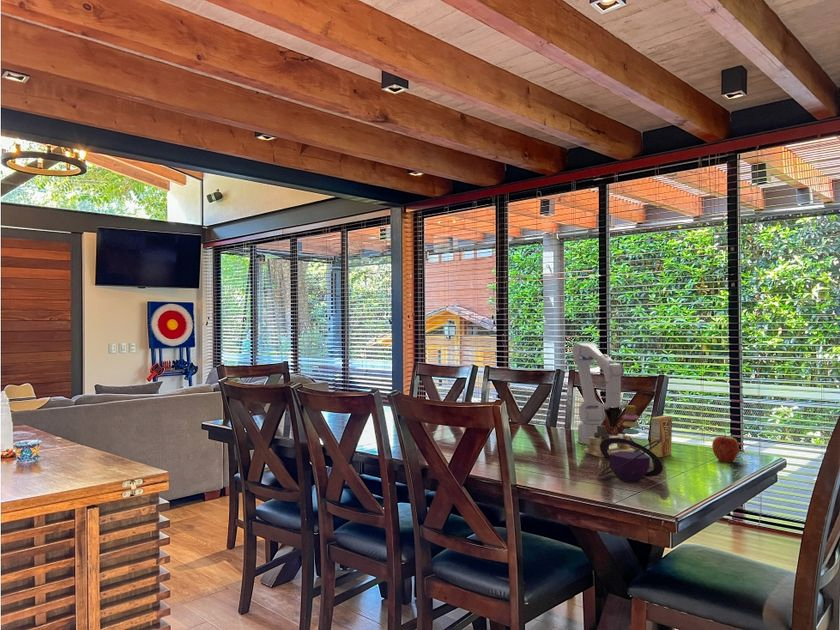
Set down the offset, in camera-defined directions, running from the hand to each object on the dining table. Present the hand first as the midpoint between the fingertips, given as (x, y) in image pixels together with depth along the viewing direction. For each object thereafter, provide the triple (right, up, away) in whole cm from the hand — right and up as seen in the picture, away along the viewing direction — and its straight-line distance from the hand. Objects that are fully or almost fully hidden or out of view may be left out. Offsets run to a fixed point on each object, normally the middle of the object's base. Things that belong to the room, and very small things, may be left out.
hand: (613, 426), depth 252 cm
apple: (+38, -11, -15) cm, 42 cm away
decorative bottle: (-8, -10, -46) cm, 47 cm away
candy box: (+18, -11, -5) cm, 21 cm away
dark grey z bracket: (-6, -8, -3) cm, 10 cm away
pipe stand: (-2, -10, -1) cm, 11 cm away
